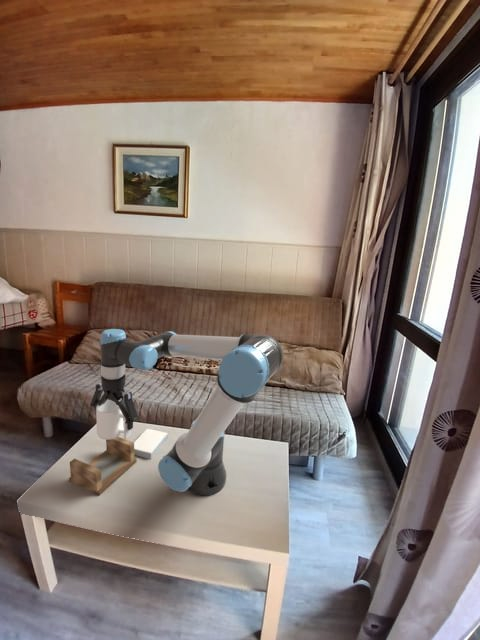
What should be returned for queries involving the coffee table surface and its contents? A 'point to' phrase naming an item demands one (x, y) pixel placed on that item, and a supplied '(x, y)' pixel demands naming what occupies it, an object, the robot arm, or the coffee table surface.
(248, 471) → the coffee table surface
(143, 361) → the robot arm
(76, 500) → the coffee table surface
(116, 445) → the cradle
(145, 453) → the white rectangular block
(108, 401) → the mug
